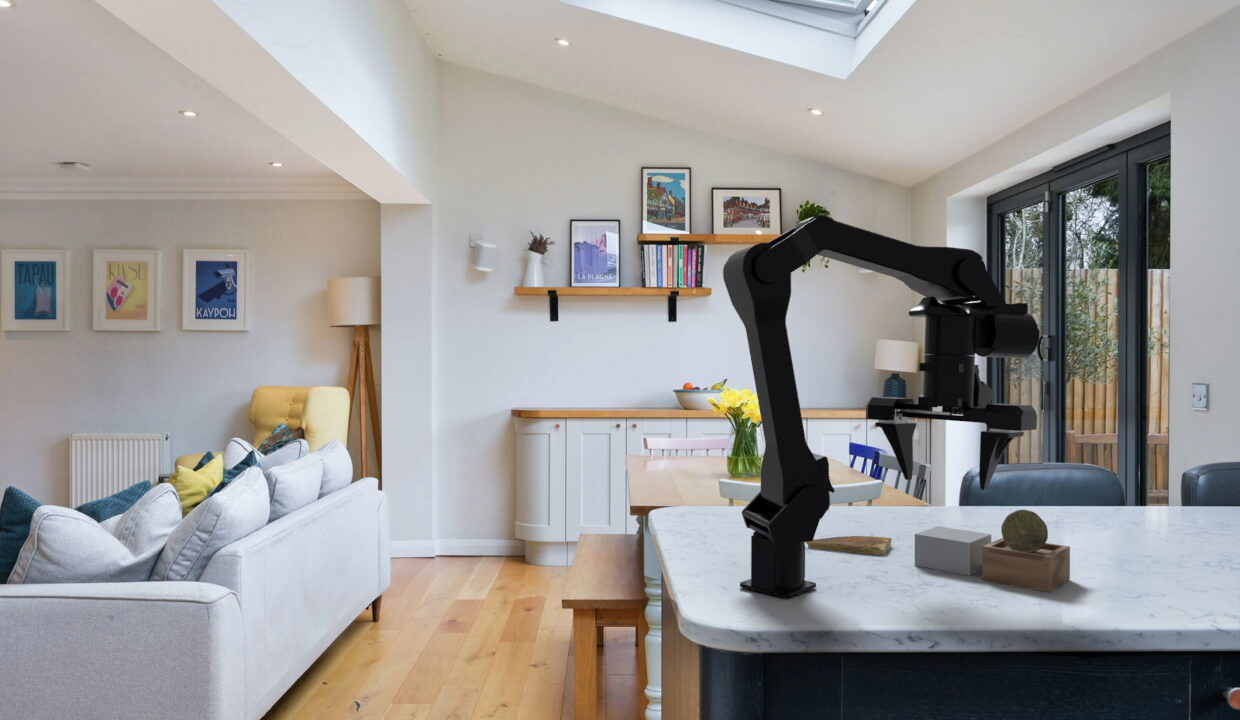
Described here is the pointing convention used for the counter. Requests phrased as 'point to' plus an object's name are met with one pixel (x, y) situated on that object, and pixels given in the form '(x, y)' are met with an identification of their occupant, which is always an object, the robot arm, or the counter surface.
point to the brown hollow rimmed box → (1026, 566)
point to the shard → (854, 544)
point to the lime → (1024, 531)
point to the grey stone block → (950, 549)
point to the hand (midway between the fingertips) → (944, 484)
